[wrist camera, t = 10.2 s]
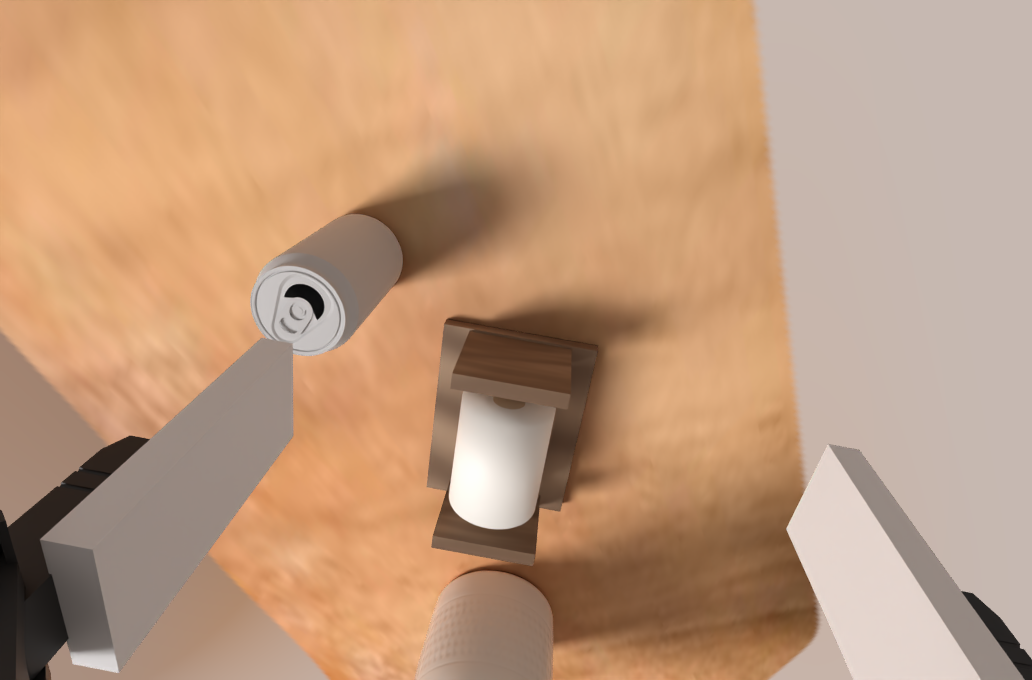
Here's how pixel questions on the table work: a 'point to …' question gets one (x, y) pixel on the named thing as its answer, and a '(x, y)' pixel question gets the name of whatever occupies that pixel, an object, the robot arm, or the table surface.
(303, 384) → the table surface
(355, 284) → the beverage can
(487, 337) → the holder
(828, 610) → the robot arm
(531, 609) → the lamp
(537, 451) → the cylinder
